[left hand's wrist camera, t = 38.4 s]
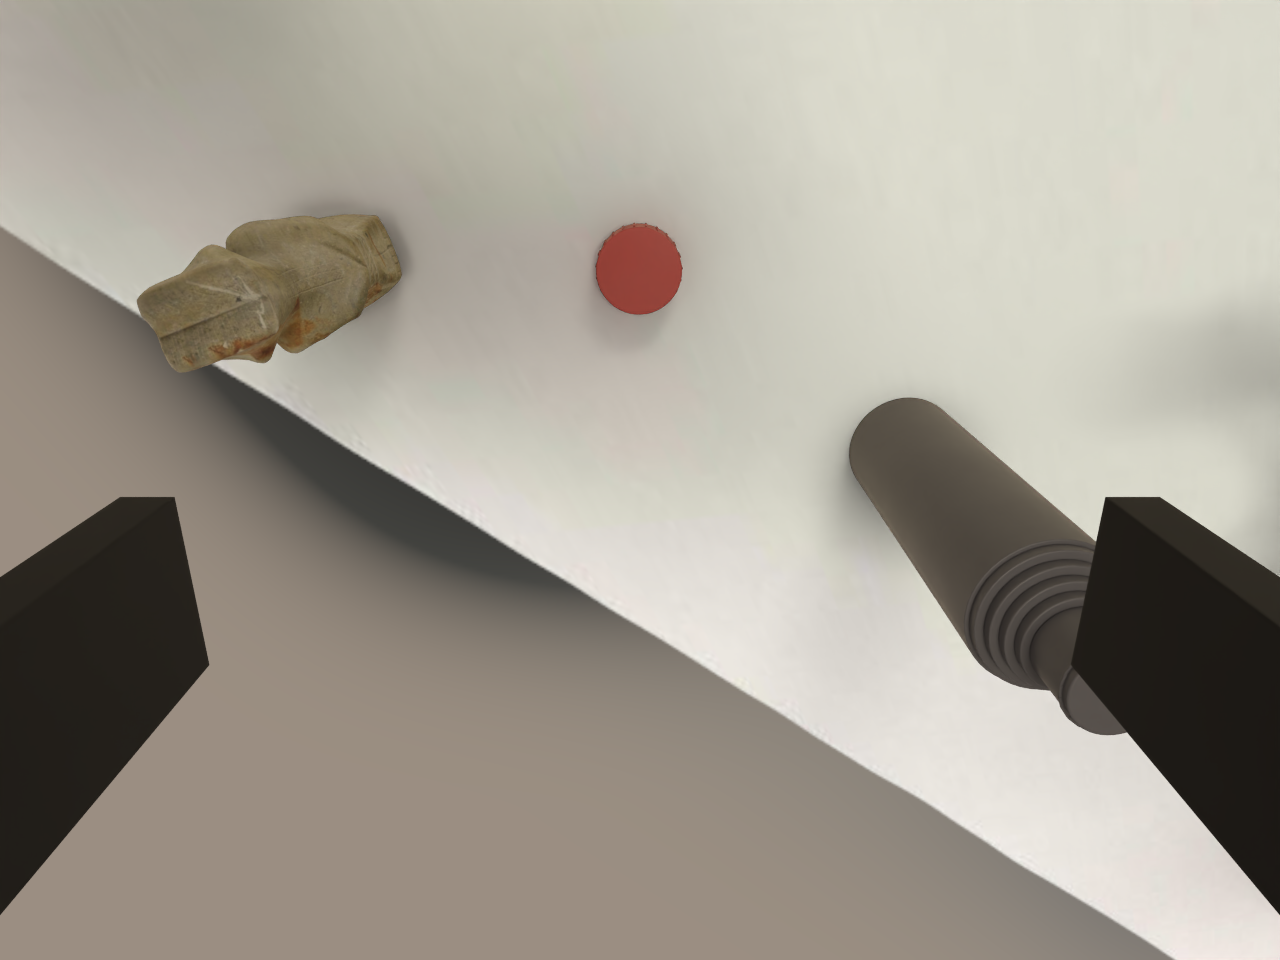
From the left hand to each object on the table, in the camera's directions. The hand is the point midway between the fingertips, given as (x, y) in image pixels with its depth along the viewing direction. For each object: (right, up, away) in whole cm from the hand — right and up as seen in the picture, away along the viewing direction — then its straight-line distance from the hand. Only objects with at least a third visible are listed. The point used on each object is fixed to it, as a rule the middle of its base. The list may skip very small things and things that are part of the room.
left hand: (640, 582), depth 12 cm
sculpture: (-16, +13, +34) cm, 40 cm away
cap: (0, +12, +33) cm, 35 cm away
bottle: (+15, +3, +38) cm, 41 cm away
